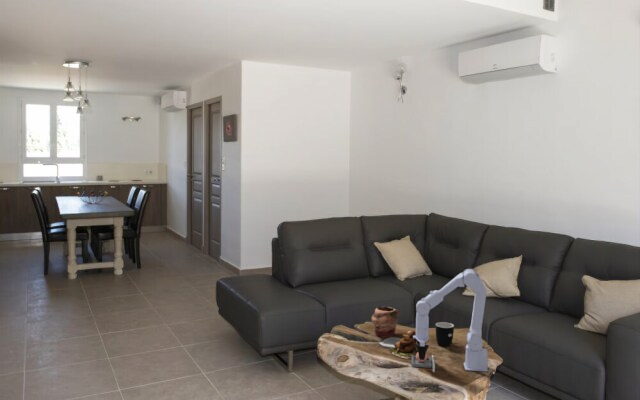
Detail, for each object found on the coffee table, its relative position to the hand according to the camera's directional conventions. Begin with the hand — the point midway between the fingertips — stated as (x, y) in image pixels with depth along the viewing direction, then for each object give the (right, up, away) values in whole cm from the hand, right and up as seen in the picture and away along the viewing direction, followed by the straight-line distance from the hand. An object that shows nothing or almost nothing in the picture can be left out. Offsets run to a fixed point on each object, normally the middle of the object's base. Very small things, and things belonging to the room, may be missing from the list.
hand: (421, 356), depth 247 cm
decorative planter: (-11, 0, +40) cm, 42 cm away
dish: (0, -3, 0) cm, 3 cm away
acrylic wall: (+5, -4, -3) cm, 7 cm away
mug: (+17, -1, +26) cm, 31 cm away
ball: (0, -3, 0) cm, 3 cm away
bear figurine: (-5, -3, +13) cm, 14 cm away
